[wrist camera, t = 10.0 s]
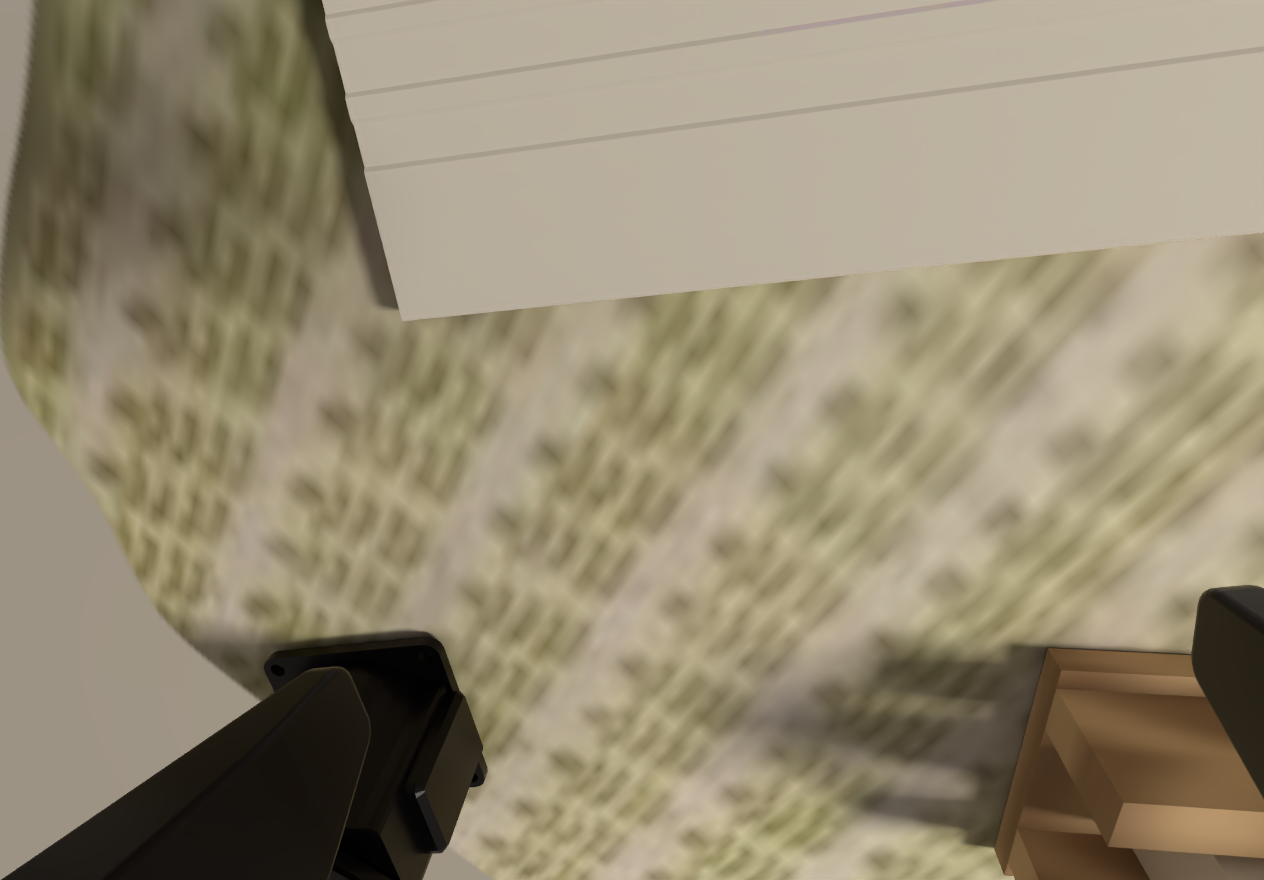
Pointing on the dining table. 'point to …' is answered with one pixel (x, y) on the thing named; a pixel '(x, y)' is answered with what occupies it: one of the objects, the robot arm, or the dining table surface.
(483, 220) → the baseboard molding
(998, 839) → the wooden slotted stand
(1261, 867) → the off-white rectangular block
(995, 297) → the dining table surface
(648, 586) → the dining table surface
